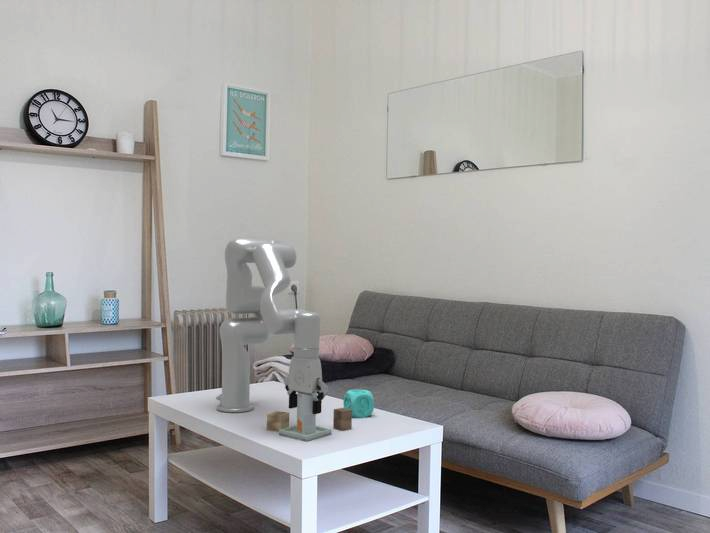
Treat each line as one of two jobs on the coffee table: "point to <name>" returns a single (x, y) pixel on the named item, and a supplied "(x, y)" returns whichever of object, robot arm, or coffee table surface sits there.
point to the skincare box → (305, 414)
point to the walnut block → (342, 419)
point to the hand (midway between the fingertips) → (304, 410)
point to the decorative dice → (359, 402)
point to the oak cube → (277, 420)
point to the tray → (296, 434)
